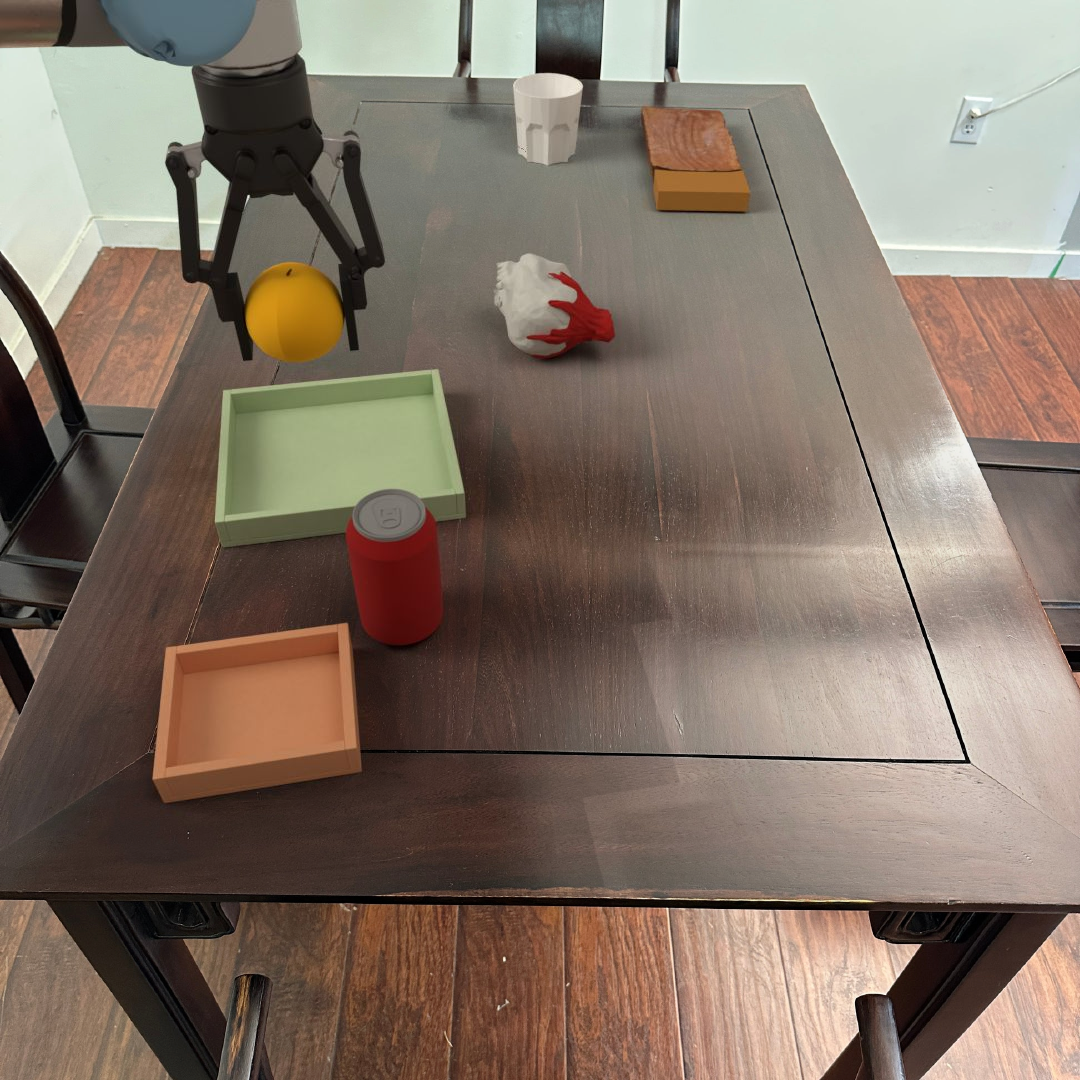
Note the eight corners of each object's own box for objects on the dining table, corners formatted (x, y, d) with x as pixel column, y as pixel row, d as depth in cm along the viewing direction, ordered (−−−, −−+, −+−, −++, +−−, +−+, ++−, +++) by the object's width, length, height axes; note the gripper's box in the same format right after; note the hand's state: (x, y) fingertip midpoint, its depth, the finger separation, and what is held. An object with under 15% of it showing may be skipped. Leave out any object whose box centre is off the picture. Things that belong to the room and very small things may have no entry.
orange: (291, 315, 85) (276, 235, 79) (367, 337, 82) (357, 256, 77) (233, 361, 79) (212, 279, 74) (313, 386, 77) (297, 303, 72)
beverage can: (439, 585, 82) (430, 478, 74) (448, 646, 77) (439, 539, 69) (359, 594, 81) (341, 487, 73) (363, 657, 76) (343, 549, 68)
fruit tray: (222, 548, 85) (214, 522, 83) (229, 415, 98) (223, 390, 96) (466, 518, 88) (464, 492, 86) (440, 393, 102) (438, 368, 100)
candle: (494, 305, 113) (617, 336, 112) (467, 356, 105) (600, 390, 104) (502, 234, 107) (633, 267, 106) (475, 284, 99) (616, 319, 98)
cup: (588, 146, 148) (592, 79, 141) (566, 172, 141) (569, 102, 134) (528, 136, 150) (528, 69, 143) (503, 161, 144) (502, 92, 137)
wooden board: (653, 212, 132) (655, 188, 130) (638, 126, 154) (640, 105, 152) (748, 213, 132) (752, 190, 130) (720, 128, 154) (723, 106, 152)
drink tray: (164, 803, 67) (152, 779, 65) (176, 672, 75) (165, 647, 73) (362, 772, 69) (356, 747, 67) (352, 647, 77) (347, 622, 75)
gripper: (397, 31, 69) (420, 312, 85) (92, 46, 66) (176, 334, 82) (407, 68, 64) (430, 359, 80) (76, 86, 61) (169, 385, 77)
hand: (301, 346), depth 81 cm, fingers closed on orange, 8 cm apart
